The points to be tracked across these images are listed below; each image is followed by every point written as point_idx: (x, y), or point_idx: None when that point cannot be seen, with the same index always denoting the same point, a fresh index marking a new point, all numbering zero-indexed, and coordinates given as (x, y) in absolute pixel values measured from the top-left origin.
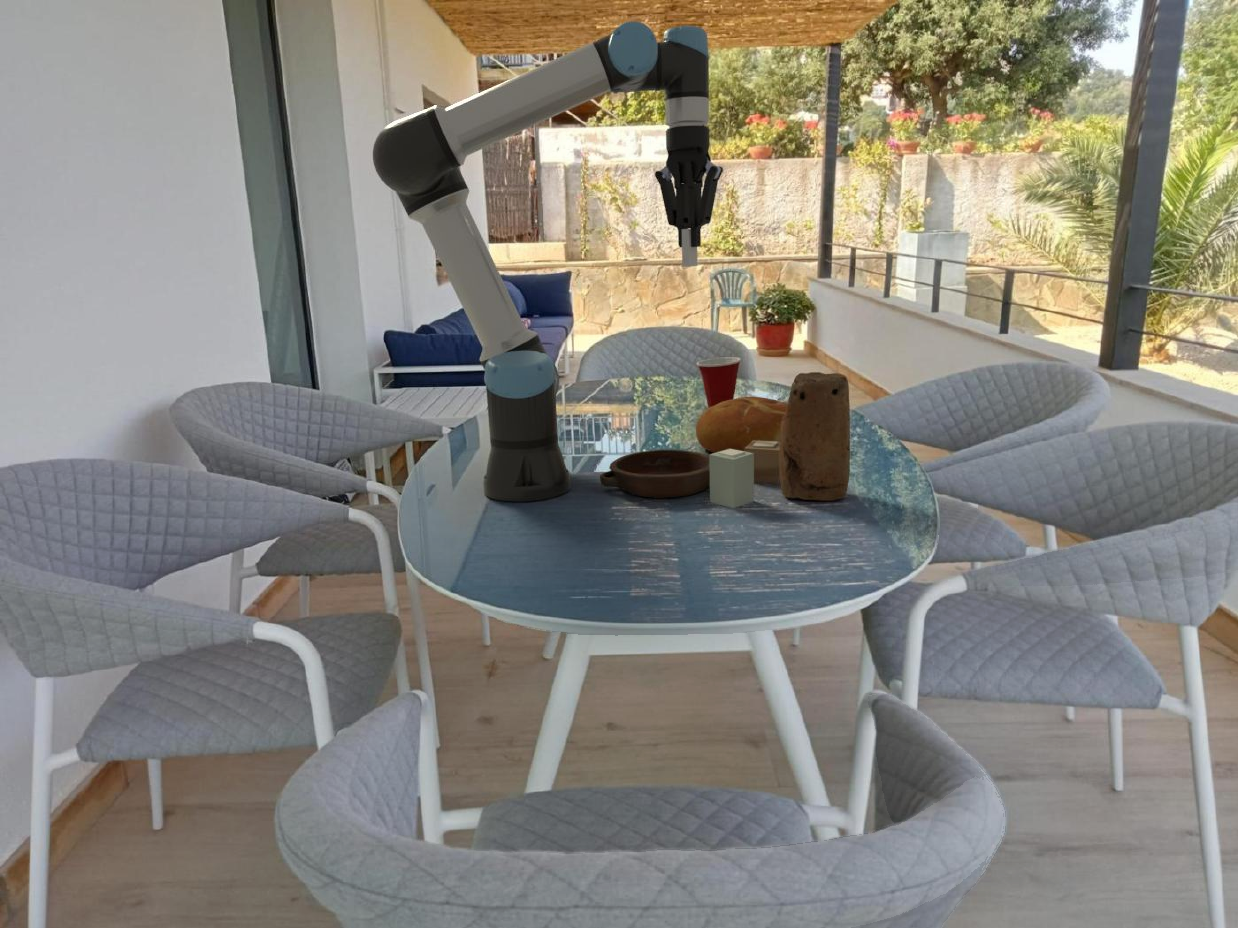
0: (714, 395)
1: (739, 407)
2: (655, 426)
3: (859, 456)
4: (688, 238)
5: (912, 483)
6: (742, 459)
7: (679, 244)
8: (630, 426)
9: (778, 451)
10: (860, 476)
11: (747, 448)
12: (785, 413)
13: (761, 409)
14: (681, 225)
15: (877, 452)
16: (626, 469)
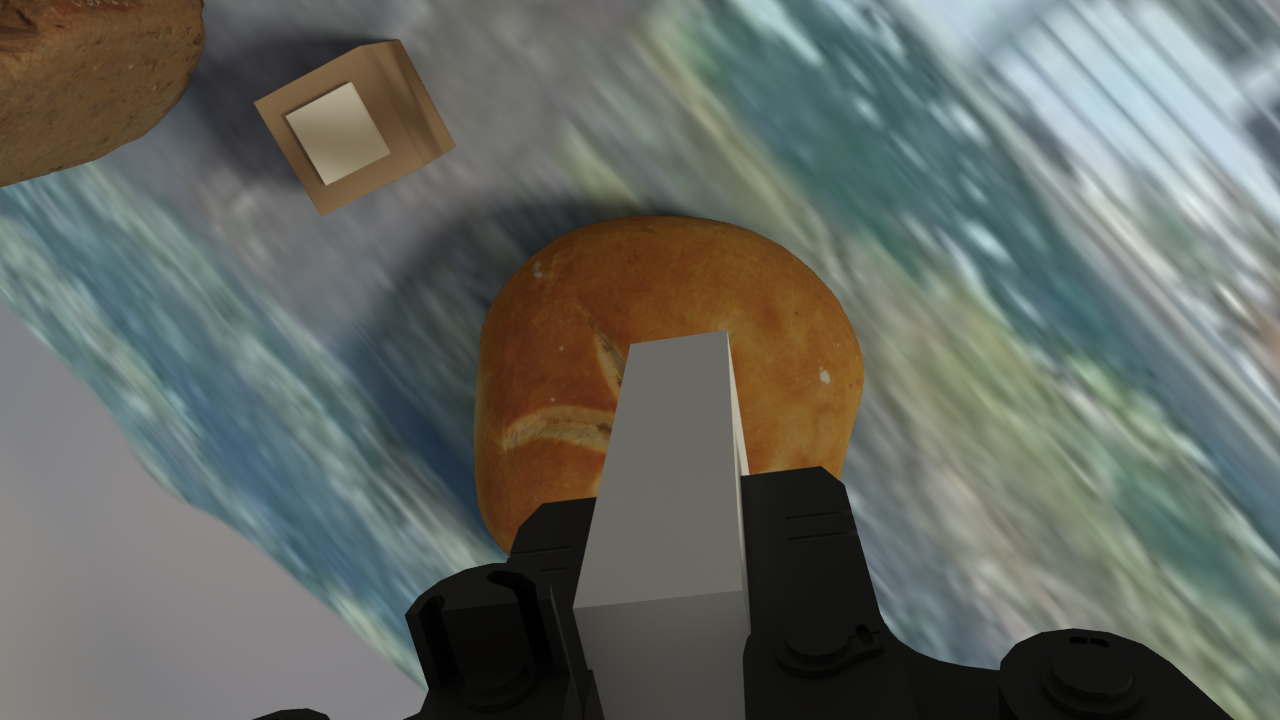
0: None
1: None
2: (1178, 430)
3: (349, 487)
4: (600, 510)
5: (61, 336)
6: None
7: (828, 491)
8: (1276, 376)
9: (256, 101)
10: (198, 310)
11: (349, 51)
12: (36, 17)
13: (570, 409)
14: (758, 651)
15: (343, 550)
16: None
